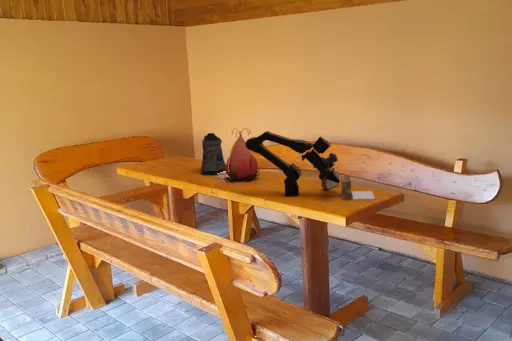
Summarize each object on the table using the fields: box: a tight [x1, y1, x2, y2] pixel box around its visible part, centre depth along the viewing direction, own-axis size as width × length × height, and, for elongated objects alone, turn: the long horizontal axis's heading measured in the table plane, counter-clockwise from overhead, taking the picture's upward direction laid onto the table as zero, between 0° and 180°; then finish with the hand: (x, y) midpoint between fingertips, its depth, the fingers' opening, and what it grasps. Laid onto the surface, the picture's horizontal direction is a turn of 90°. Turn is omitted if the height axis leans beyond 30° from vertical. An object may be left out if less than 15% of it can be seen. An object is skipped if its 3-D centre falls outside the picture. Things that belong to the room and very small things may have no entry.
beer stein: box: [200, 132, 226, 176], centre depth 303 cm, size 16×19×25 cm
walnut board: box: [340, 175, 352, 201], centre depth 234 cm, size 4×12×9 cm, turn 172°
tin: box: [320, 170, 341, 190], centre depth 252 cm, size 15×3×8 cm, turn 141°
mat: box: [351, 190, 376, 201], centre depth 234 cm, size 10×14×1 cm
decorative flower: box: [224, 127, 261, 182], centre depth 280 cm, size 22×23×30 cm
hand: (339, 182), depth 235 cm, fingers closed
